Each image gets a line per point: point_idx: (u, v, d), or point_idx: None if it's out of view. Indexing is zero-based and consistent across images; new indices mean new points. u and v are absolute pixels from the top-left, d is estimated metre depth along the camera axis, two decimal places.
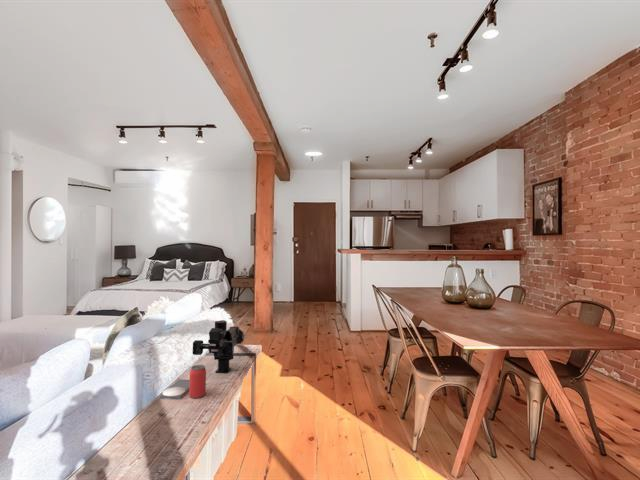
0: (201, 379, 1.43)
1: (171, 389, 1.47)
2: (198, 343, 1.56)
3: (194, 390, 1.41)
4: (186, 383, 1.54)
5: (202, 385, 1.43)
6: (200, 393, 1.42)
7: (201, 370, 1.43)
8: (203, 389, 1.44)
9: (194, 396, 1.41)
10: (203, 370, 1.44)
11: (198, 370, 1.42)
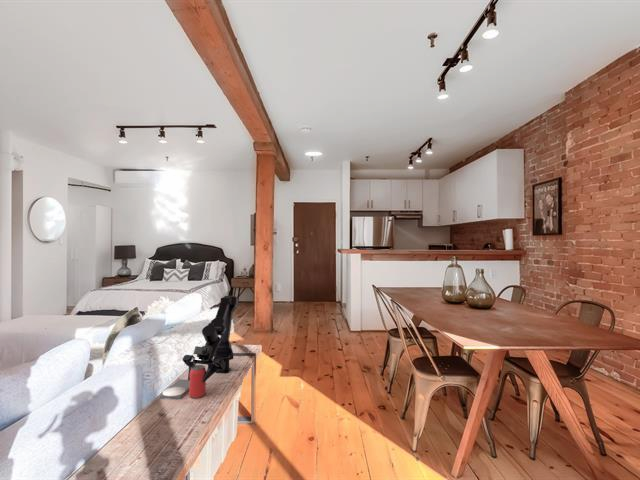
0: (201, 379, 1.43)
1: (171, 389, 1.47)
2: (189, 363, 1.47)
3: (194, 390, 1.41)
4: (186, 383, 1.54)
5: (202, 385, 1.43)
6: (200, 393, 1.42)
7: (201, 370, 1.43)
8: (203, 389, 1.44)
9: (194, 396, 1.41)
10: (203, 370, 1.44)
11: (198, 370, 1.42)
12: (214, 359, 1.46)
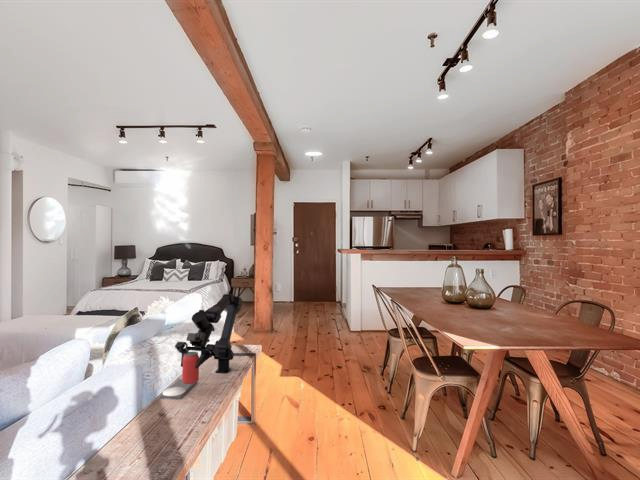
0: (194, 365, 1.43)
1: (171, 389, 1.47)
2: (182, 349, 1.48)
3: (188, 376, 1.42)
4: None
5: (195, 371, 1.43)
6: (194, 379, 1.43)
7: (194, 356, 1.43)
8: (196, 375, 1.44)
9: (187, 382, 1.42)
10: (196, 356, 1.44)
11: (191, 356, 1.43)
12: (207, 345, 1.47)
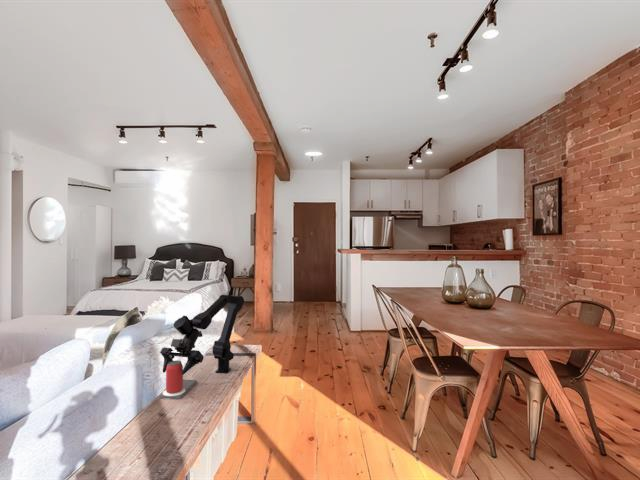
0: (178, 374, 1.43)
1: None
2: (164, 355, 1.48)
3: (171, 386, 1.42)
4: (186, 383, 1.54)
5: (178, 380, 1.43)
6: (177, 388, 1.43)
7: (177, 365, 1.43)
8: (180, 384, 1.44)
9: (171, 391, 1.42)
10: (179, 365, 1.44)
11: (174, 365, 1.43)
12: (191, 351, 1.47)
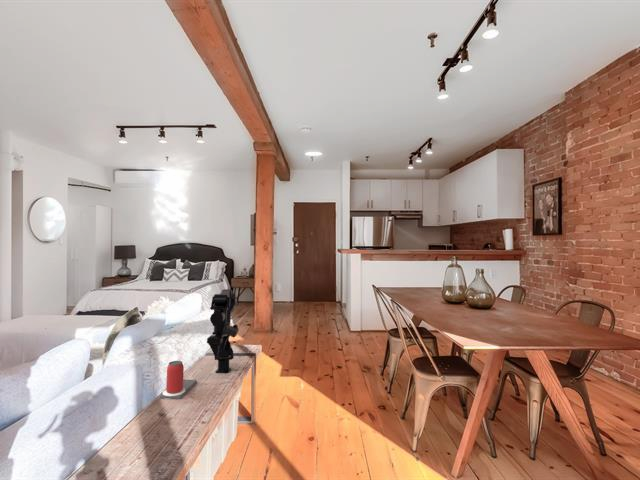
0: (178, 375, 1.43)
1: None
2: (220, 344, 1.55)
3: (171, 386, 1.42)
4: (186, 383, 1.54)
5: (179, 380, 1.43)
6: (177, 388, 1.43)
7: (178, 366, 1.44)
8: (180, 385, 1.44)
9: (171, 391, 1.42)
10: (180, 366, 1.44)
11: (175, 366, 1.43)
12: None
